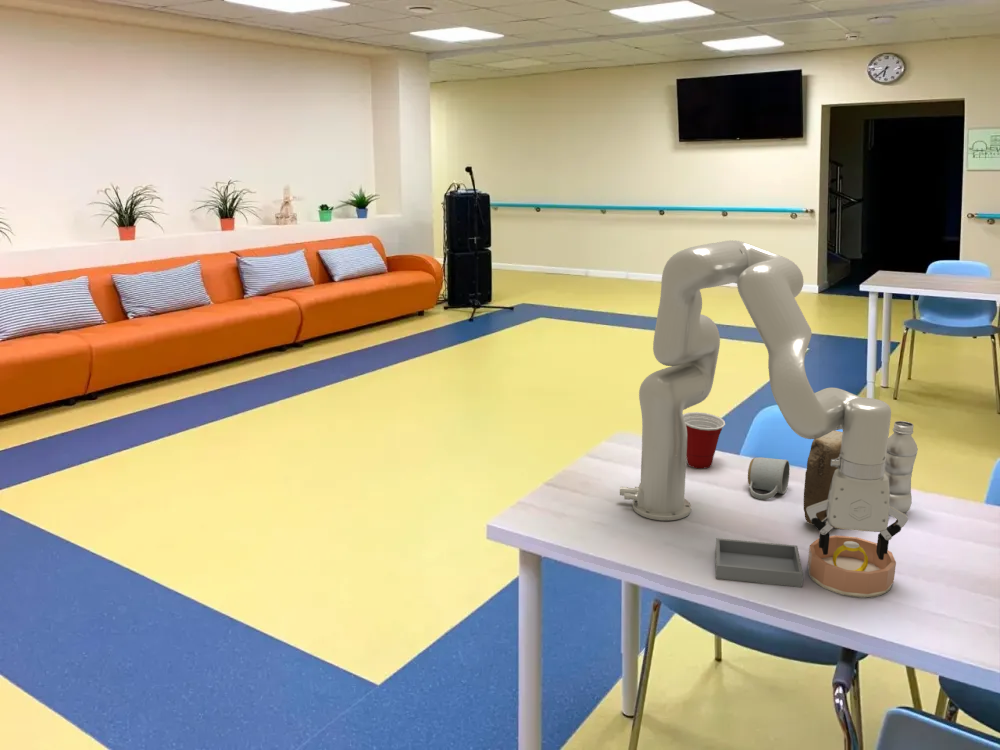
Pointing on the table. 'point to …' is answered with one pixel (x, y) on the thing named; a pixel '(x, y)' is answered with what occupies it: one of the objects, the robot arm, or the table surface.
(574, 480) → the table surface
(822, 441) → the stone
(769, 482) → the ceramic mug
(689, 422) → the plastic cup
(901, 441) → the plastic bottle
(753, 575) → the parts tray
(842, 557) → the bowl
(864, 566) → the watch
